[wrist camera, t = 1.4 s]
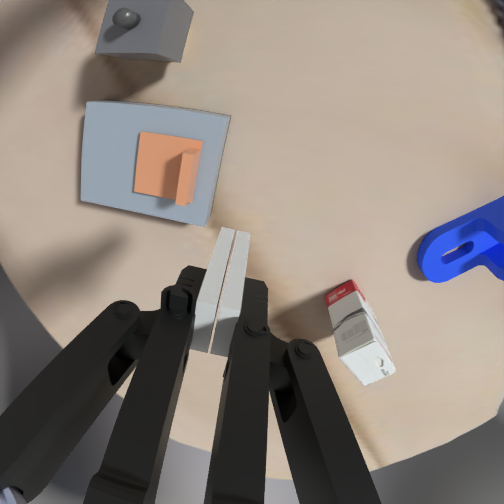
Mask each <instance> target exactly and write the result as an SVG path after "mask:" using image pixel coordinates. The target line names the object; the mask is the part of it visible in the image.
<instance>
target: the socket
mask: <svg viewBox="0 0 504 504" xmlns="http://www.w3.org/2000/svg"><path fill="white" fill-rule="evenodd" d="M230 119H231V116H230V115H224V114H219V113H213V112H208V111H202V110H196V109H189V108H182V107H175V106H167V105H159V104H150V103H140V102H128V101H114V100H99V101H89V102H87V104H86V112H85V121H84V131H83V144H82V162H81V201H86V202H91V203H95V204H100V205H105V206H110V207H114V208H119V209H124V210H129V211H133V212H138V213H143V214H147V215H152V216H156V217H161V218H166V219H170V220H175V221H179V222H184V223H188V224H193V225H197V226H202V227H205V225H206V223H207V221H208V219H209V217H210V215H211V212H212V206H213V201H214V196H215V191H216V186H217V181H218V176H219V171H220V166H221V161H222V156H223V151H224V147H225V142H226V137H227V133H228V128H229V124H230ZM141 131H144V132H151V133H158V134H165V135H171V136H178V137H184V138H190V139H195V140H201V141H203V145H202V151H201V156H200V161H199V167H198V173H197V178H196V184H195V190H194V196H193V202H192V203H187V205H186V206H181V205H177V204H175V203H176V200H173V199H168V198H164V197H159V196H154V195H149V194H144V193H139V192H134V188H135V176H136V166H137V157H138V148H139V140H140V133H141Z"/></svg>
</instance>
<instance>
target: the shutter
mask: <svg viewBox="0 0 504 504" xmlns="http://www.w3.org/2000/svg"><path fill="white" fill-rule="evenodd" d="M202 145H203V141H201V140H195V139H190V138H184V137H178V136H171V135H165V134H158V133H151V132H144V131H141V133H140V140H139V148H138V157H137V166H136V176H135V188H134V192H139V193H144V194H149V195H154V196H159V197H164V198H168V199H173V200H176V203H175V204H177V205H181V206H186V205H187V203H192V202H193V196H194V190H195V184H196V178H197V173H198V167H199V161H200V156H201V151H202Z"/></svg>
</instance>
